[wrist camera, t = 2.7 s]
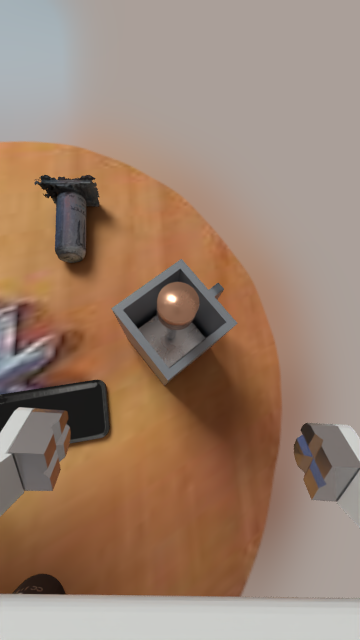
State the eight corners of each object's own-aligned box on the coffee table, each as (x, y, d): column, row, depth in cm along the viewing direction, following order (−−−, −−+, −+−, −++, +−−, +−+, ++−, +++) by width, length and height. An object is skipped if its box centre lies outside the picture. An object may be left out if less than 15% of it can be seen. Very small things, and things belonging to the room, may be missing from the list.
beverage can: (59, 206, 48) (59, 270, 46) (31, 175, 41) (30, 249, 39) (109, 198, 48) (112, 263, 45) (90, 165, 40) (92, 240, 38)
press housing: (127, 338, 42) (111, 308, 27) (185, 294, 44) (199, 246, 30) (164, 385, 40) (168, 380, 26) (222, 337, 43) (254, 309, 29)
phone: (-8, 395, 38) (104, 378, 39) (-3, 395, 39) (105, 379, 40) (-9, 458, 36) (109, 437, 37) (-4, 456, 37) (110, 436, 38)
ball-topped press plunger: (136, 331, 37) (124, 295, 23) (174, 303, 38) (183, 253, 25) (166, 369, 36) (172, 354, 22) (204, 339, 37) (230, 307, 24)
